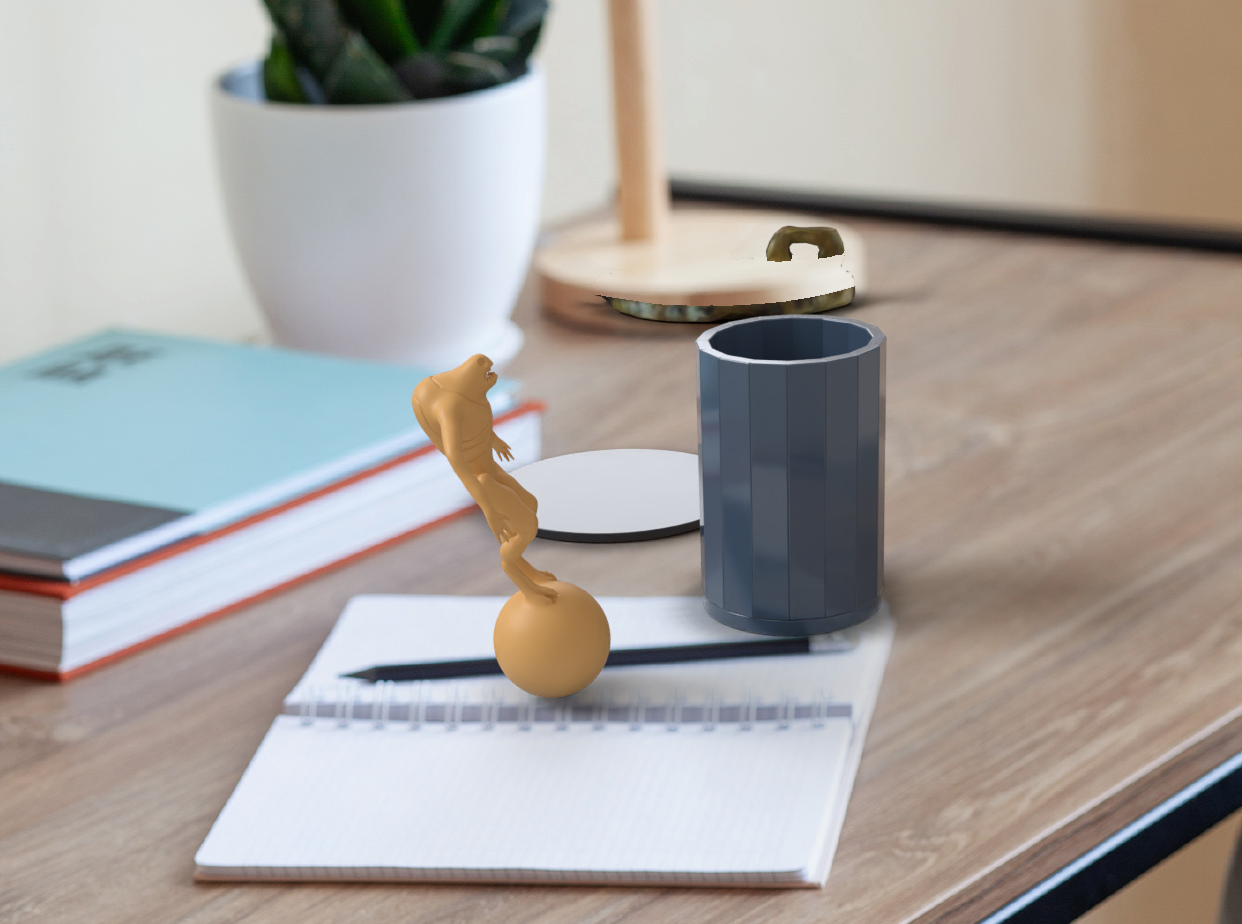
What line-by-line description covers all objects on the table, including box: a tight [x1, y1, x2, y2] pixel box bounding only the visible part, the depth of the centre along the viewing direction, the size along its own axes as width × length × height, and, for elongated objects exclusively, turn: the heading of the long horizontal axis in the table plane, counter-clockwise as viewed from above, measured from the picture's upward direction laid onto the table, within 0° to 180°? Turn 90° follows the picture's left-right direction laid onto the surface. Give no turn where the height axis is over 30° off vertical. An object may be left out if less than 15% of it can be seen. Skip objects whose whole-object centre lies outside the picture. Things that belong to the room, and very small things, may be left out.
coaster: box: [507, 448, 700, 543], centre depth 89 cm, size 11×11×1 cm
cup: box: [694, 314, 888, 636], centre depth 76 cm, size 7×7×10 cm
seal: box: [594, 225, 856, 323], centre depth 118 cm, size 9×5×15 cm
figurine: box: [411, 353, 612, 699], centre depth 69 cm, size 8×6×12 cm
